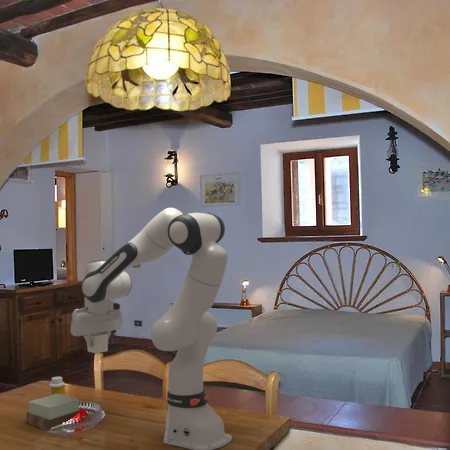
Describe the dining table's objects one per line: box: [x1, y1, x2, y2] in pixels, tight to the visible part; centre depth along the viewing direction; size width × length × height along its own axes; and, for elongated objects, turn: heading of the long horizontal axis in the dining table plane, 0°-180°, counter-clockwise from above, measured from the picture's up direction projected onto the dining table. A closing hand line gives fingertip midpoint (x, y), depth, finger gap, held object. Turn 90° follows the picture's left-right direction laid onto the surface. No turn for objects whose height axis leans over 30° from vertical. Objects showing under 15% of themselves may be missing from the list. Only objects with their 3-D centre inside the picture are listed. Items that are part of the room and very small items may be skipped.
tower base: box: [26, 410, 82, 432], centre depth 196 cm, size 13×13×4 cm
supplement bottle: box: [48, 376, 66, 396], centre depth 217 cm, size 6×6×10 cm
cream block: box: [87, 332, 109, 354], centre depth 201 cm, size 5×5×6 cm
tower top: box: [28, 394, 80, 420], centre depth 197 cm, size 12×12×4 cm
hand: (97, 345), depth 201 cm, fingers closed on cream block, 5 cm apart
